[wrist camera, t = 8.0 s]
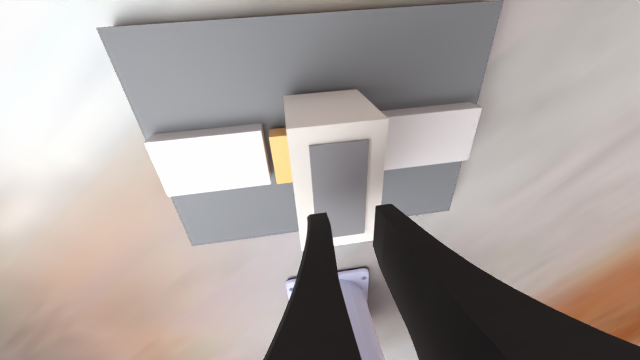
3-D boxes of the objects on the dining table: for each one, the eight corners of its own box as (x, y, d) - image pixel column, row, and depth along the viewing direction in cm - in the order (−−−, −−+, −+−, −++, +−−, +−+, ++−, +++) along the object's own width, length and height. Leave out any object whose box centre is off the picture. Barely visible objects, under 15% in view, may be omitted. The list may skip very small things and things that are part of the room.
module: (354, 188, 18) (379, 241, 14) (295, 195, 18) (301, 252, 13) (356, 89, 14) (390, 119, 10) (283, 95, 14) (286, 130, 10)
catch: (368, 163, 17) (374, 172, 16) (276, 174, 17) (276, 184, 16) (370, 118, 16) (377, 125, 15) (269, 129, 15) (268, 137, 14)
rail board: (439, 199, 23) (457, 220, 20) (197, 232, 21) (187, 258, 19) (484, 1, 15) (521, -1, 13) (113, 26, 13) (79, 28, 11)
